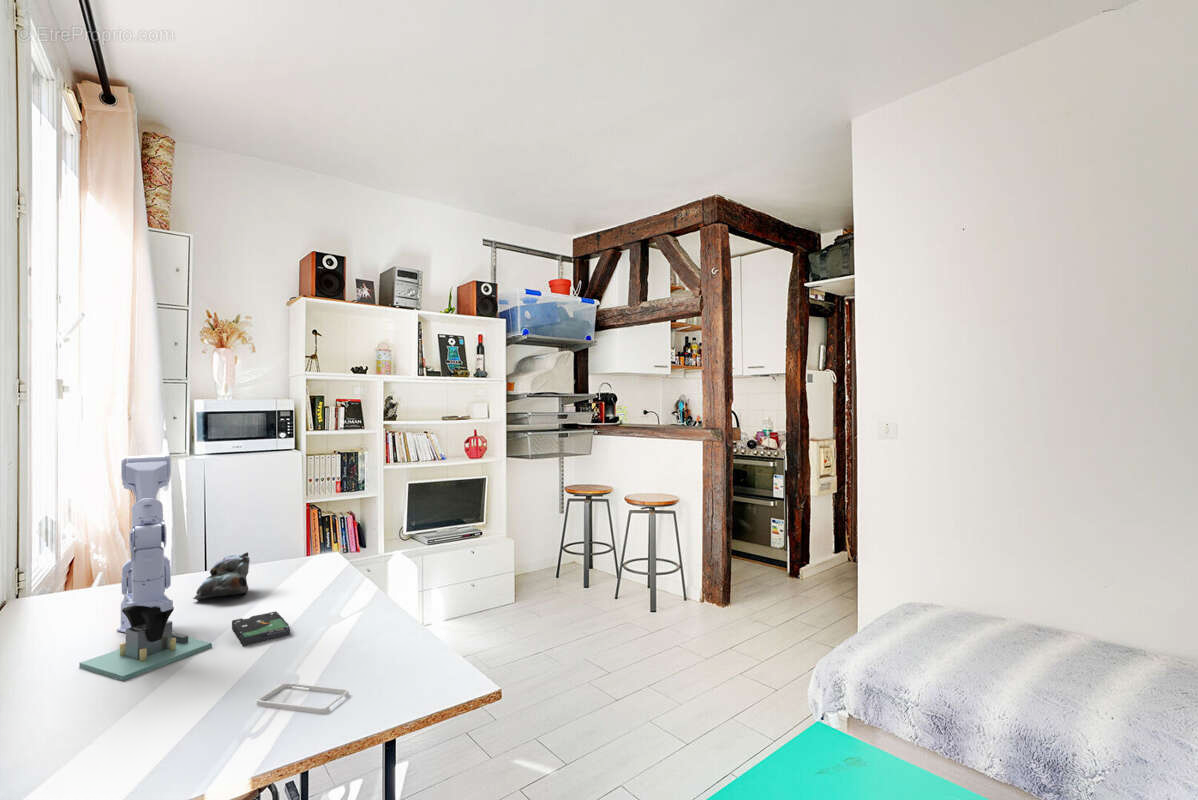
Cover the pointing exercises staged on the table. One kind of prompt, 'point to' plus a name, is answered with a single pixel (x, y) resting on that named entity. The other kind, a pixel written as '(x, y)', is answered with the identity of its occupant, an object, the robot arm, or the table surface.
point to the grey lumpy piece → (226, 578)
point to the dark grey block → (145, 641)
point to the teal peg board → (143, 658)
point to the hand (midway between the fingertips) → (148, 638)
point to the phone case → (300, 707)
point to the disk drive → (260, 628)
